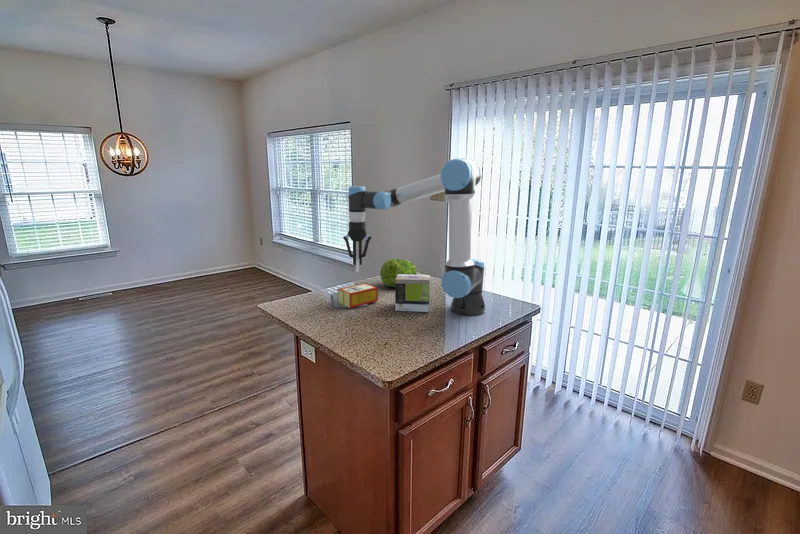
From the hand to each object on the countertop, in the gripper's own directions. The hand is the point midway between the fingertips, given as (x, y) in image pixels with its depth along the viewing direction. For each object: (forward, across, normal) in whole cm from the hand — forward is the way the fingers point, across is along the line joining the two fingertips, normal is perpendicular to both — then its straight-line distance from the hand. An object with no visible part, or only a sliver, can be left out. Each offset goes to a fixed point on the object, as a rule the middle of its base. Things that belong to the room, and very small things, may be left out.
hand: (357, 271), depth 183 cm
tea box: (+14, -23, +15) cm, 31 cm away
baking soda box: (+10, -6, +1) cm, 12 cm away
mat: (+14, +4, 0) cm, 14 cm away
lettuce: (+14, -25, -21) cm, 36 cm away
